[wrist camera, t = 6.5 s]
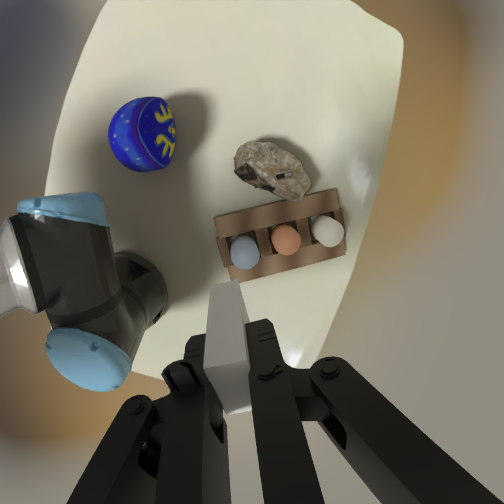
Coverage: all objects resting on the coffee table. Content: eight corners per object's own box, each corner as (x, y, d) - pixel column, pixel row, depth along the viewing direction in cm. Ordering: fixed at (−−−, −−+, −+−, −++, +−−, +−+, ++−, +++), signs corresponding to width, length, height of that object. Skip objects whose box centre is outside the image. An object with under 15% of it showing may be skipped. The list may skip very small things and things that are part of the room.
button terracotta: (273, 250, 49) (277, 258, 45) (267, 226, 47) (271, 232, 43) (297, 244, 49) (303, 251, 45) (292, 220, 47) (298, 225, 43)
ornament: (183, 167, 43) (163, 169, 29) (131, 174, 42) (92, 181, 28) (179, 102, 39) (159, 77, 25) (127, 112, 39) (88, 94, 25)
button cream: (313, 242, 47) (320, 250, 44) (309, 218, 46) (316, 223, 42) (336, 236, 47) (345, 243, 44) (332, 212, 46) (341, 217, 42)
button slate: (234, 263, 47) (234, 272, 43) (227, 238, 46) (227, 246, 42) (259, 256, 47) (262, 265, 43) (253, 232, 46) (256, 238, 42)
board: (229, 281, 50) (229, 285, 48) (211, 217, 46) (210, 219, 45) (344, 251, 50) (347, 254, 49) (335, 188, 46) (338, 189, 45)
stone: (294, 202, 46) (306, 207, 40) (226, 178, 44) (227, 178, 37) (309, 163, 45) (323, 162, 38) (242, 137, 43) (245, 130, 36)
